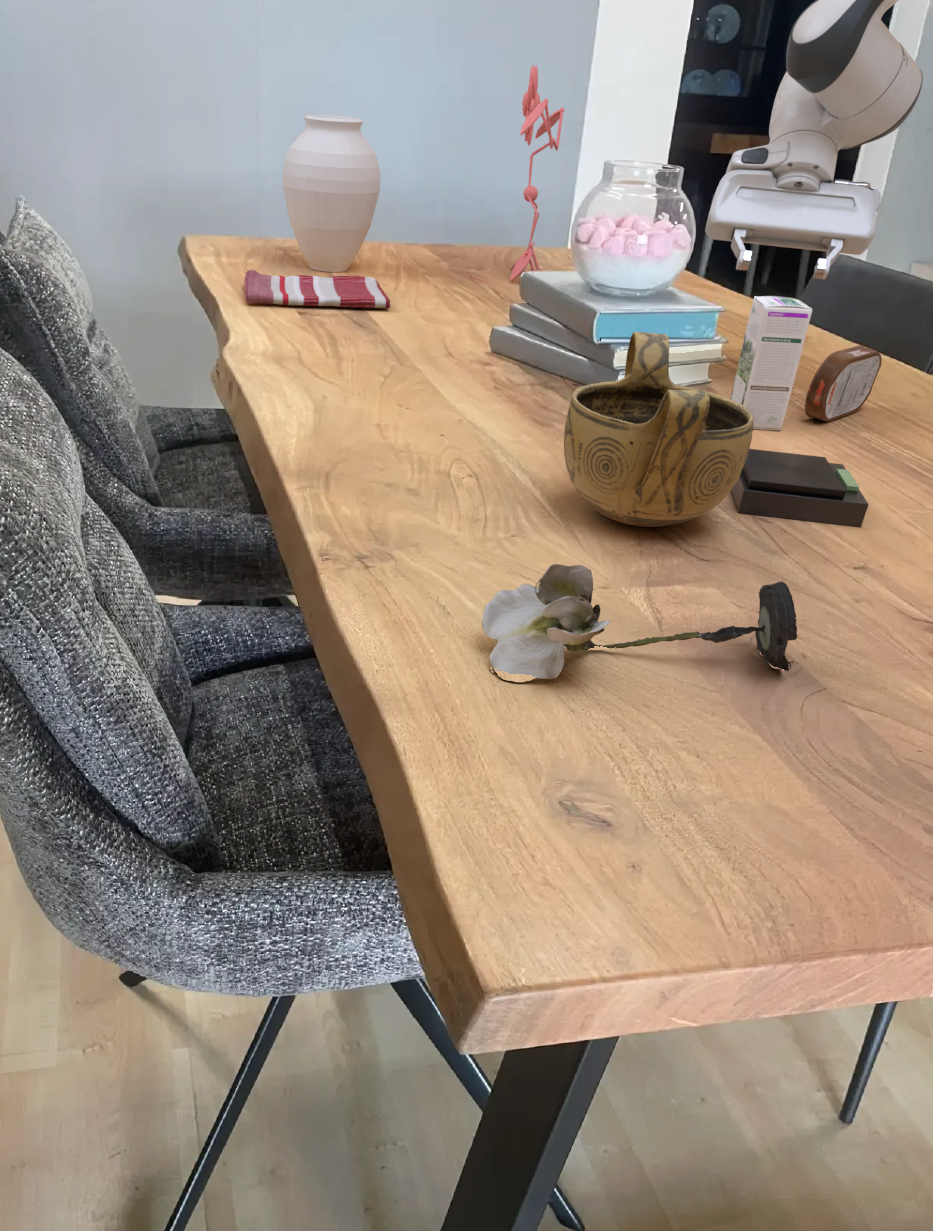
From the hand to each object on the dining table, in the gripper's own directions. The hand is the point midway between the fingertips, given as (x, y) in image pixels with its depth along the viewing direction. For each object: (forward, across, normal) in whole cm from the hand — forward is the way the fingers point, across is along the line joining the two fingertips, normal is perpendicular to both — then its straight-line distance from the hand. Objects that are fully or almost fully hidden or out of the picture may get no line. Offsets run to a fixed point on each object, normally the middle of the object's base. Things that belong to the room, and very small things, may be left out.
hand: (781, 271), depth 131 cm
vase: (-29, +75, -53) cm, 96 cm away
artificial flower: (+67, +12, +44) cm, 81 cm away
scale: (+37, -2, +14) cm, 40 cm away
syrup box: (+18, 0, -5) cm, 19 cm away
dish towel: (-10, +70, -34) cm, 78 cm away
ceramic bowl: (+46, +12, +22) cm, 52 cm away
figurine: (-38, +43, -61) cm, 84 cm away
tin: (+13, -11, -11) cm, 20 cm away
